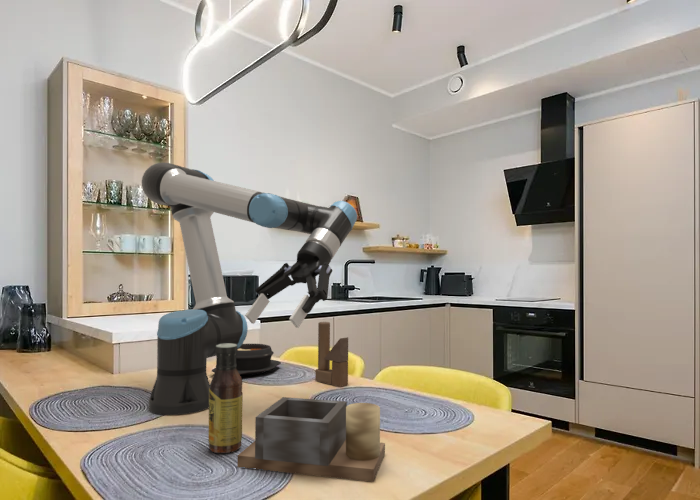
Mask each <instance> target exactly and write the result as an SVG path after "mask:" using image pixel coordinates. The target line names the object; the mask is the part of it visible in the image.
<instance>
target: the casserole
mask: <svg viewBox="0 0 700 500" xmlns="http://www.w3.org/2000/svg"><path fill="white" fill-rule="evenodd" d="M274 354H275V353H274V351H273V350H272V346H271V345H268V344H263V343H243V344H242V345H241V346H240V347H239V348H238V349H237V354H236V364H237V366H236V369H237V371H238V373H239V374H240V375H249V376H256V375H255V374H257V375H261V374H264V373H266V372H267V371H271V370H274V369H275V368H276V367H277V366H279V365H282V363H281V361H279V360H276V359H275V360H274V359H272V356H273V355H274ZM215 369H216V367H215V368H213V369H211V372H212V373H214V372H215ZM260 373H261V374H260Z"/></svg>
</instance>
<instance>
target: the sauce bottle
mask: <svg viewBox="0 0 700 500" xmlns="http://www.w3.org/2000/svg"><path fill="white" fill-rule="evenodd" d="M215 352H216V356H215V357H216V361H215V362H216V363H215V368H216V369H215V368H214V369H215V372H213V376H212V378H211V381H210V382H209V384H210V386H209V408H208V433H207V434H208V440H207V441H208V443H209V444H208V448H209V450H210V451H211V452H212V453H213V452H214V453H215V454H216V453H217V454H230V452H231V453H234V452H237V451H238V450H239V449H240V448H241V447H242V438H243V379H242V376H240V374H239V373H238V371H237V369H236V366H237V364H236V354H237V344H232V343H225V344H219V345H216V351H215Z"/></svg>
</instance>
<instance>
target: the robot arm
mask: <svg viewBox="0 0 700 500" xmlns="http://www.w3.org/2000/svg"><path fill="white" fill-rule="evenodd" d="M141 188H142V191H143V193H144V194H145V196H146V197H147V198H148V199H149V200H150V201H152V202H153V203H155V204H158V205H161V206H166V207H170V210H171V216H172V219H173V220H175V221H176V222H177V223H179V228H180V232H181V235H182V236H181V237H182V241H183V247H184V251H185V256H186V260H187V267H188V271H189V276H190V281H191V286H192V289H193V290H192V291H193V295H194V299H195V305H194V307H193V308H192V309H184V310H177V311H173V312H169V313H166V314H164V315H163V316H161V317H160V318H159V320H158V325H157V331H156V336H157V339H156V341H157V343H156V345H157V350H156V351H157V353H156V354H157V355H156V356H157V357H156V359H157V366H156V370H157V371H156V379H155V381H154V384H153V387H152V390H151V393H150V397H149V398H148V411H150V412H151V413H153V414H157V415H164V416H170V415H171V416H177V415H187V414H192V413H197V412H202V411H204V410H207V409H209V386H210V381H209V377H208V375H207V361H208V360H207V359H208V358H212V357H216V352H215V351H216V345H219V344H225V343H232V344H237V349H238V348H239V347H240V346H241V345H242V344H244V342H245V340H246V338H247V335H248V322H247V320H248V321H249V322H250V323H251V324H253V325H254V324H255V323H256V321H257V320H258V319H259V318H260V316H261V315H262V313H263V312H264V310H265V309H266V307H267V306H268V304H269V303H270V299H271V298H272V297H274V296H276V295H277V294H279V293H281V292H283V290H285V289H287V288H289V287H290V286H291V287H293V286H294V285H296V284H306V286H307V294H304V295H303V297H302V298H301V300H300V301H299V302H298V305H297V306H296V307H295V309H294V311H293V312H292V314H291V315H290V317H289V319H288V320H289V321H290V322H291V323H292V324H293V326H294V327H295V328H298V329H299V328H300V326H301V324H302V323H303V321H304V320H305V318H306V316H307V315H308V314H309V313H310V312H311V311H312V309H314V306H315V305H316V304H317V303H319V301H323V302H325V301H326V300H327V299H328V298H329V297H328V296H329V295H328V294H329V285H330V277H331V275H332V272H333V269H332V267H331V266H330V263H331V262H332V259H333V258H334V257H335V255H336V254H337V252H338V251H339V249H340V248H341V246H342V244H343V243H344V242H345V239H346V238H347V237H348V236H349V234H350V233H351V232H352V230H353V228H354V226H355V224H356V222H357V220H358V214H357V213H358V212H357V211H356V208H355V207H354V206H353V205H351V204H350V203H349V202H347V201H345V200H338V201H335V202H333V203H332V204H331V205H330V206H329V207H326V206H320V205H319V206H318V205H315V204H312V203H306V202H303V201H299V200H296V199H295V200H294V199H291V198H286V197H283V196H280V195H277V194H273V193H269V192H268V193H266V192H261V191H259V190H254V189H249V188H245V187H242V186H237V185H233V184H228V183H224V182H219V181H216V180H215V179H213V177H211V176H210V174H209V175H208V173H205V172H203V171H201V170H198V169H192V168H187V167H184V166H181V165H177V164H173V163H170V162H157V163H154V164H152V165H150V166H149V167H148V168H146V170H145V171H144V172H143V175H142V177H141ZM214 213H215V214H220V215H223V216H227V217H231V218H234V219H235V218H236V219H238V220H239V219H240V220H242V221H246V222H249V223H254V224H256V225H258V226H261V227H262V228H267V229H278V230H279V229H280V230H286V231H293V232H298V233H303V234H308V235H309V236H308V237H307V239H306V240H305V242H304V244H303V245H302V246H301V247H300V249H299V251H298V252H297V254H296V262H295V263H293V264H292V265H289V263H288V262H285V263H283V265H282V266H281V267H280V268H279V269H278V270H277V271H276V272H274V273H273V274H272V275H270V277H268V278H267V279H266V280H265V281H264V282H263V283H261V284H260V285H259V286H257V287H256V289H255V292H256V294H257V295H258V296H257V297H256V299H255V300H254V301H253V302H252V305H251V306H250V307H249V309H248V310H247V311H246V314H245V315H243V314H242V312H241V311H238V310H236V305H235V301H234V300H232V299H231V298H229V297H228V296H227V295H228V294H227V290H226V285H225V281H224V276H223V272H222V271H223V270H222V266H221V260H220V256H219V253H218V252H219V251H218V247H217V243H216V238H215V234H214V229H213V228H214V227H213V224H212V219H211V217H212V215H213V214H214ZM317 276H318V279H316V277H317Z"/></svg>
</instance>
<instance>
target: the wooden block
mask: <svg viewBox="0 0 700 500" xmlns="http://www.w3.org/2000/svg"><path fill="white" fill-rule="evenodd" d="M317 329H318V330H317V331H318V332H317V335H318V337H317V340H318V342H317V343H318V345H317V347H318V348H317V357H318V358H317V369H315V373H314V374H315V377H314V378H315V379H314V381H316V382H318V383H323V384H325V385H326V384H327V385H330V386H333V387H336V388H337V387H338V388H342V387H347V386H349V337H342V338H341V337H340V338H339V339H338V341H336V343H335V344H334V345H333V346H332V347H331V323H330V322H329V321H319V322H318V328H317ZM330 362H331V363H330ZM330 364H331V365H330ZM330 366H331V367H330Z"/></svg>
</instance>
